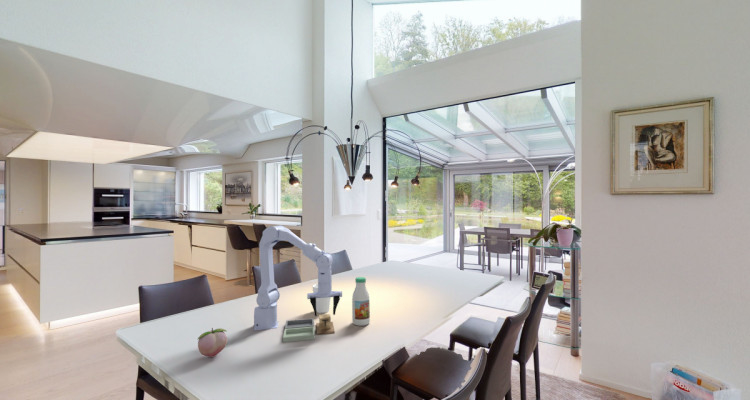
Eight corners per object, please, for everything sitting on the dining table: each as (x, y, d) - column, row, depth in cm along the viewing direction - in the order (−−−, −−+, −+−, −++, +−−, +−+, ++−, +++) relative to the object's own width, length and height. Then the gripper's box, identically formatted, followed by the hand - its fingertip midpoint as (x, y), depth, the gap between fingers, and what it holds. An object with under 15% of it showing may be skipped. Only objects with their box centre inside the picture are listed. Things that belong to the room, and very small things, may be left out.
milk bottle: (349, 324, 139) (348, 278, 140) (358, 319, 146) (357, 275, 147) (364, 327, 136) (363, 280, 136) (372, 321, 143) (372, 276, 143)
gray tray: (284, 333, 131) (284, 328, 131) (286, 325, 140) (286, 320, 140) (314, 330, 133) (314, 325, 133) (313, 322, 142) (313, 318, 142)
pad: (317, 335, 128) (317, 332, 128) (316, 325, 138) (316, 323, 138) (334, 334, 129) (334, 331, 129) (332, 324, 140) (332, 321, 140)
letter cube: (319, 329, 131) (319, 318, 131) (319, 325, 136) (319, 314, 136) (330, 328, 132) (330, 317, 132) (329, 324, 137) (329, 314, 137)
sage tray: (283, 343, 121) (283, 337, 121) (284, 334, 130) (284, 329, 130) (314, 340, 124) (314, 334, 124) (314, 331, 132) (314, 326, 132)
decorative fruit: (220, 348, 117) (220, 321, 117) (230, 355, 112) (230, 326, 112) (192, 358, 110) (192, 329, 110) (202, 365, 105) (202, 334, 105)
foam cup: (334, 308, 161) (333, 283, 162) (329, 315, 152) (329, 287, 152) (315, 308, 162) (315, 283, 163) (310, 314, 153) (310, 287, 153)
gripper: (307, 285, 129) (307, 319, 129) (342, 283, 132) (343, 316, 132) (307, 281, 136) (307, 313, 135) (341, 279, 139) (341, 311, 138)
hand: (324, 314), depth 134 cm, fingers open, 7 cm apart
